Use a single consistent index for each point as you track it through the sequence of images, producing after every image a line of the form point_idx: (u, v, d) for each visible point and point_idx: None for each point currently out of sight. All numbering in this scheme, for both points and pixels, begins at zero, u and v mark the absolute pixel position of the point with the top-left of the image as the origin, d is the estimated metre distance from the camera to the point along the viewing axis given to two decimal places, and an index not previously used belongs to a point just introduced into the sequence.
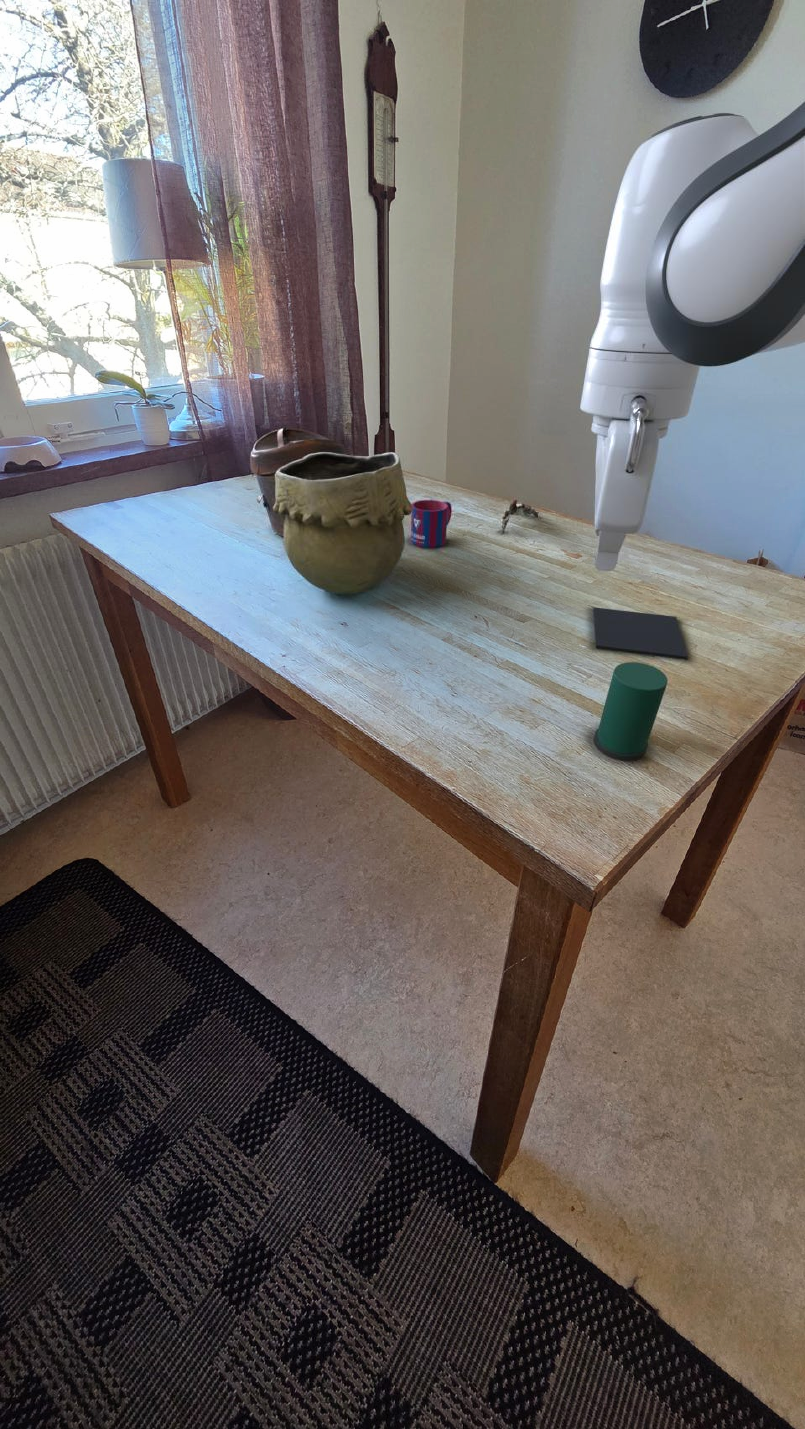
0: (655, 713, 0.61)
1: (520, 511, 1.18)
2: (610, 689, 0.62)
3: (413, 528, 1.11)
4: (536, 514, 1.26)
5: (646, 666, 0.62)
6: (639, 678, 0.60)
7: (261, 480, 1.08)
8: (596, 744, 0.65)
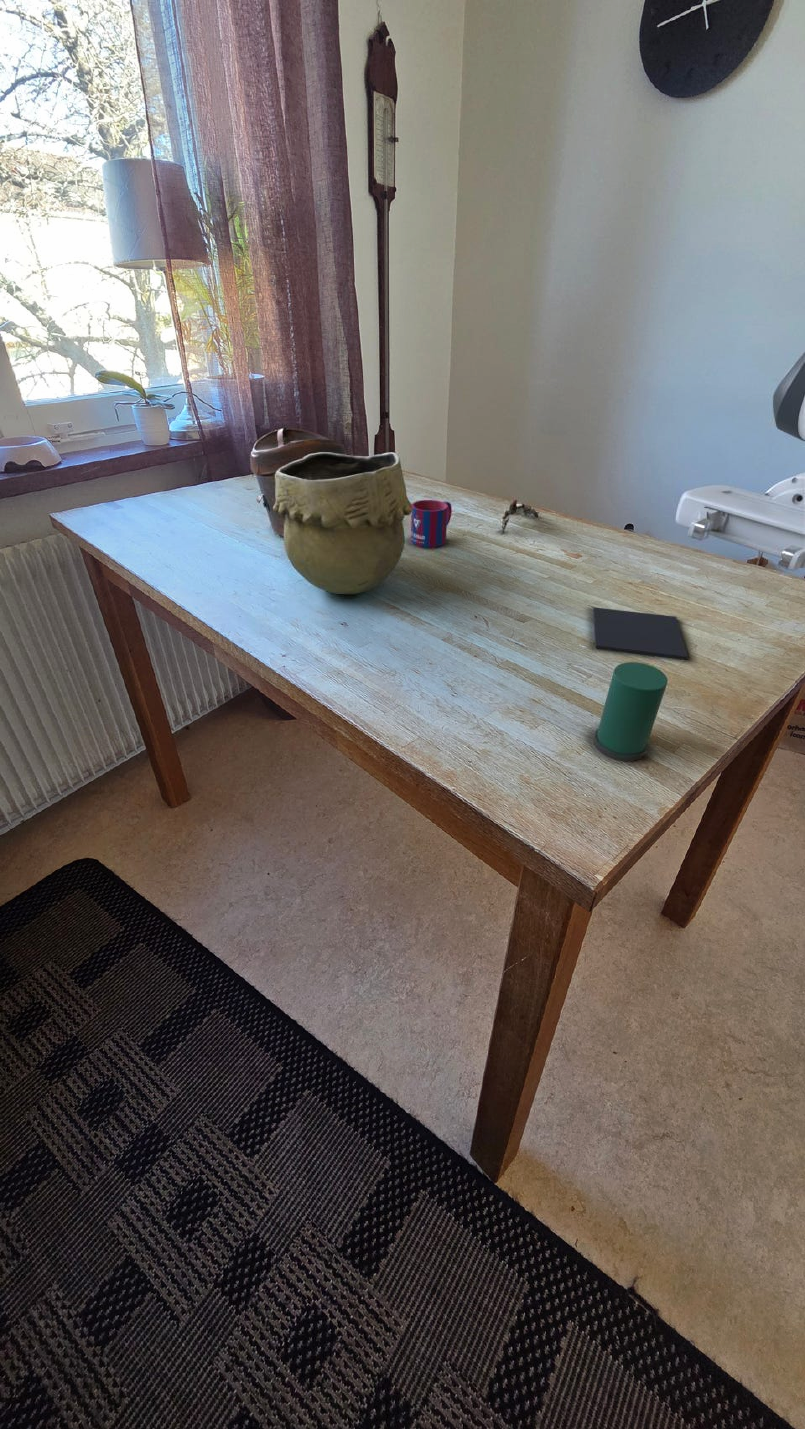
0: (655, 713, 0.61)
1: (520, 511, 1.18)
2: (610, 689, 0.62)
3: (413, 528, 1.11)
4: (536, 514, 1.26)
5: (646, 666, 0.62)
6: (639, 678, 0.60)
7: (261, 480, 1.08)
8: (596, 744, 0.65)
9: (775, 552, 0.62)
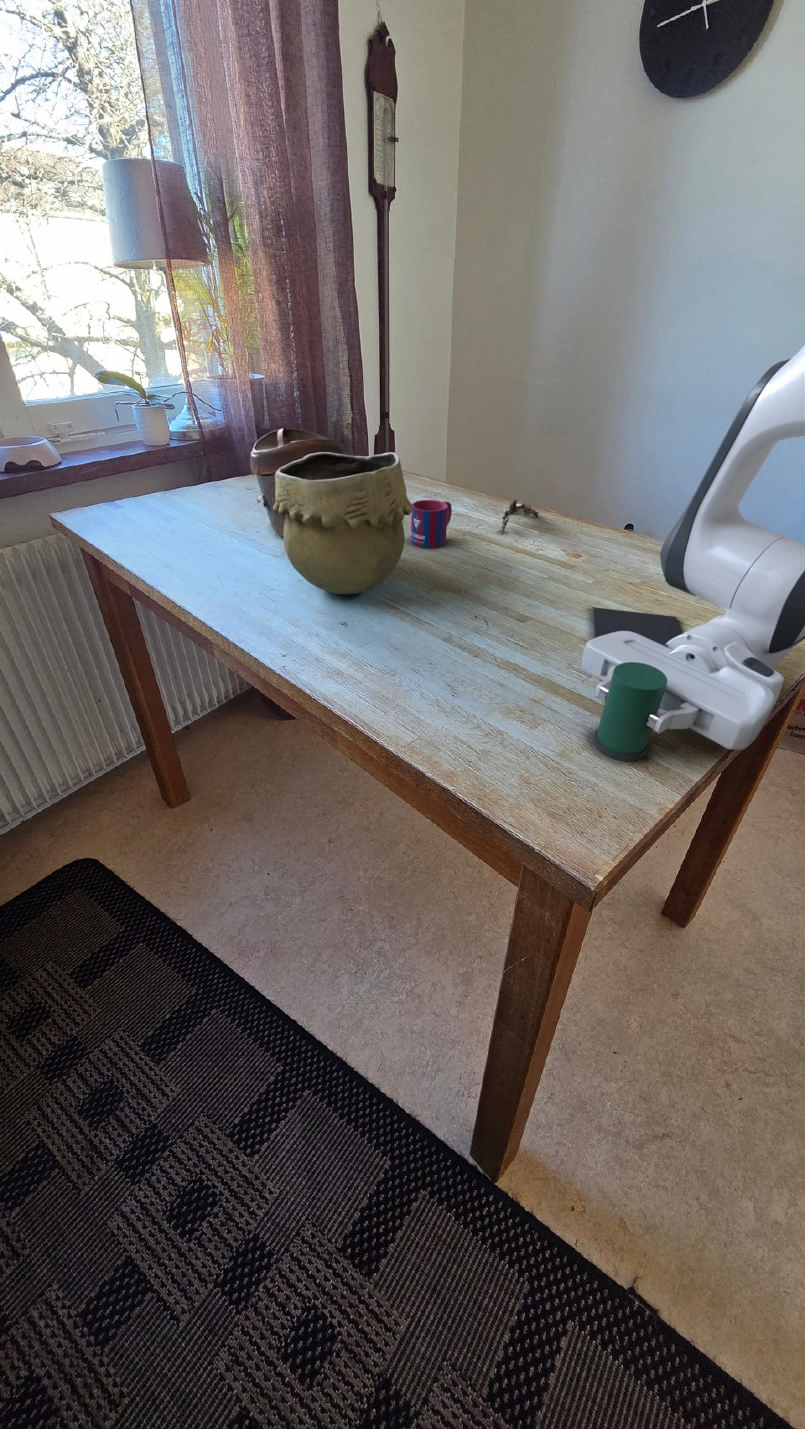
0: None
1: (520, 511, 1.18)
2: (610, 689, 0.62)
3: (413, 528, 1.11)
4: (536, 514, 1.26)
5: (645, 666, 0.62)
6: (638, 678, 0.60)
7: (261, 480, 1.08)
8: (596, 744, 0.65)
9: None
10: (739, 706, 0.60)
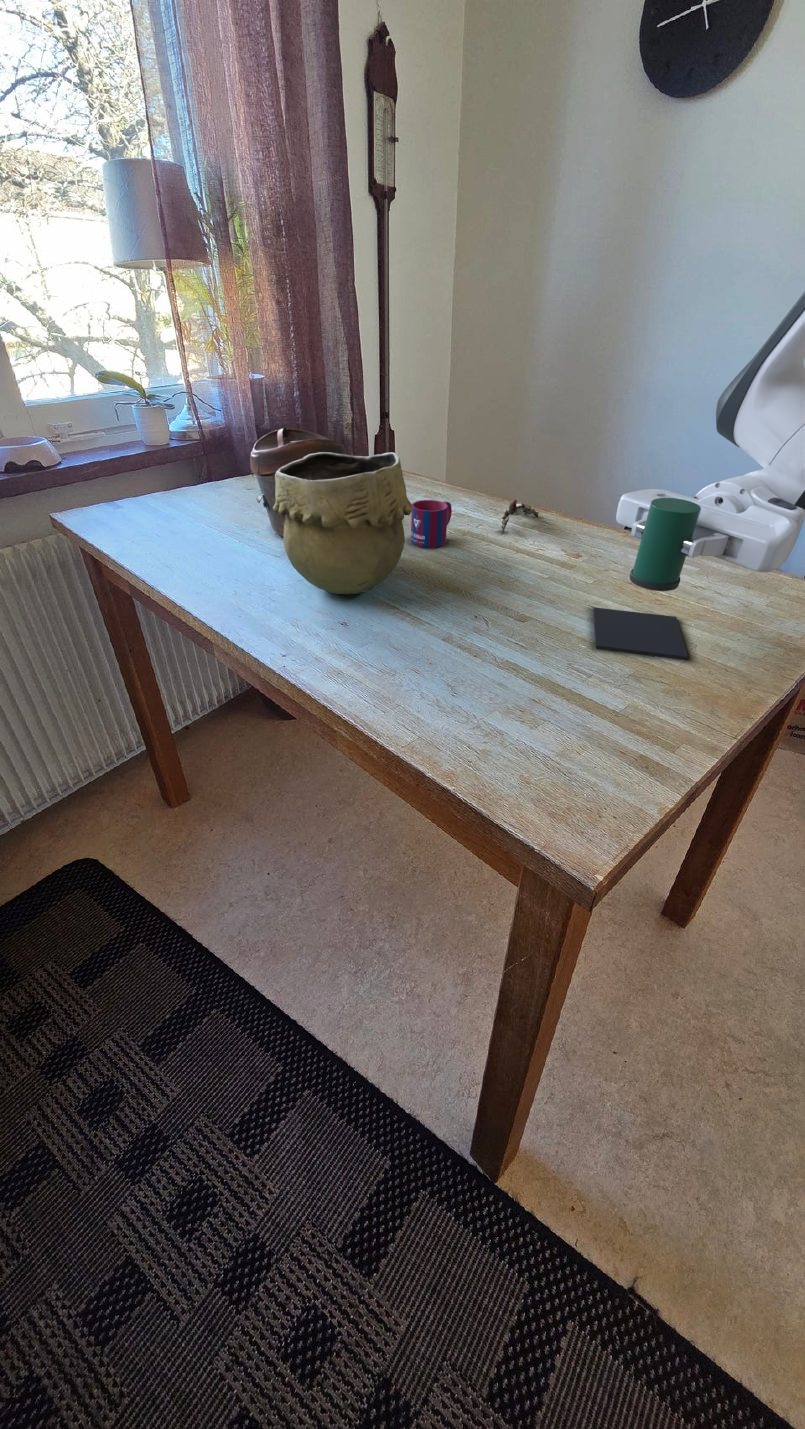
0: None
1: (520, 511, 1.18)
2: (647, 520, 0.67)
3: (413, 528, 1.11)
4: (536, 514, 1.26)
5: (680, 500, 0.68)
6: (674, 506, 0.66)
7: (261, 480, 1.08)
8: (632, 579, 0.71)
9: None
10: (766, 532, 0.66)
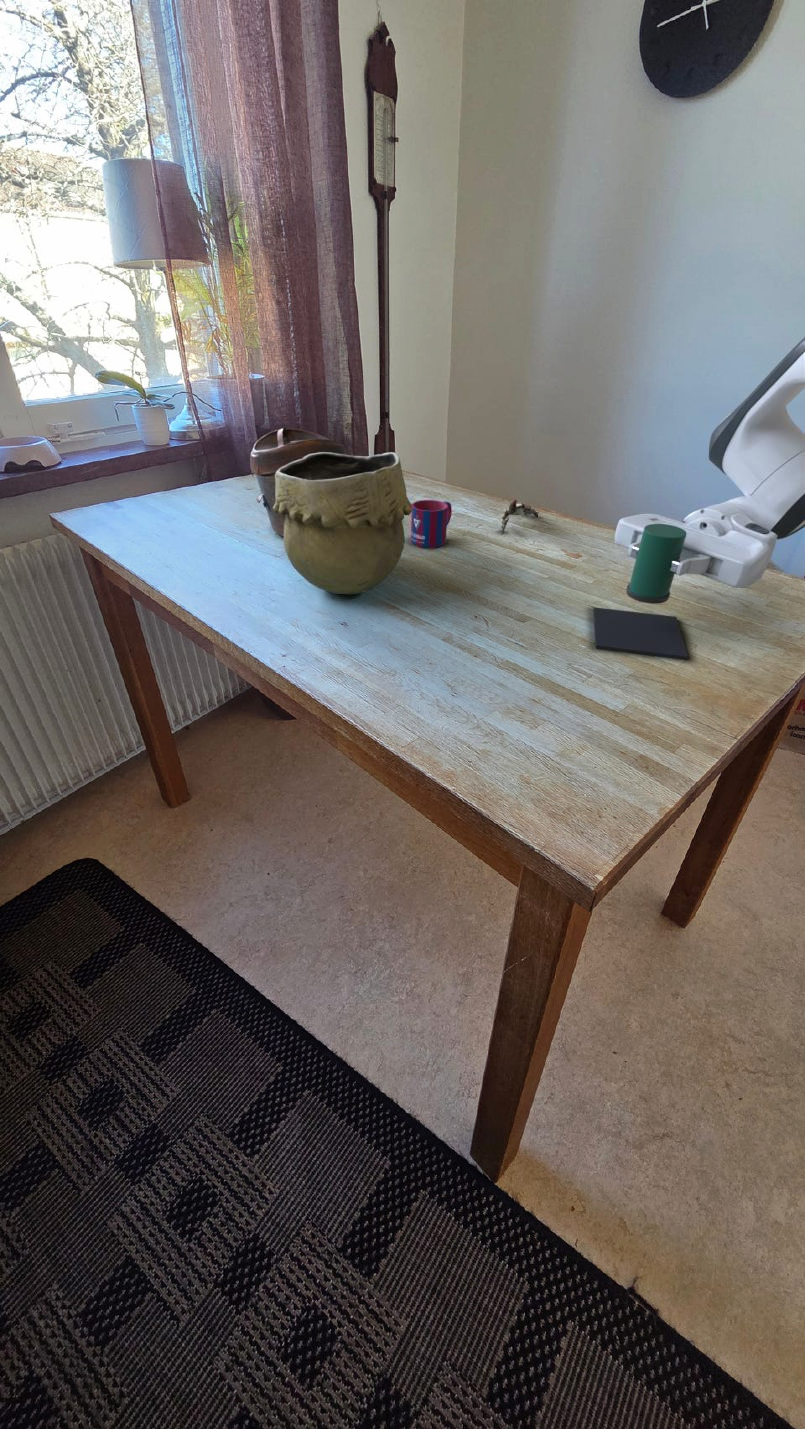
0: None
1: (520, 511, 1.18)
2: (641, 543, 0.79)
3: (413, 528, 1.11)
4: (536, 514, 1.26)
5: (669, 526, 0.79)
6: (664, 532, 0.77)
7: (261, 480, 1.08)
8: (629, 593, 0.82)
9: None
10: (742, 553, 0.77)
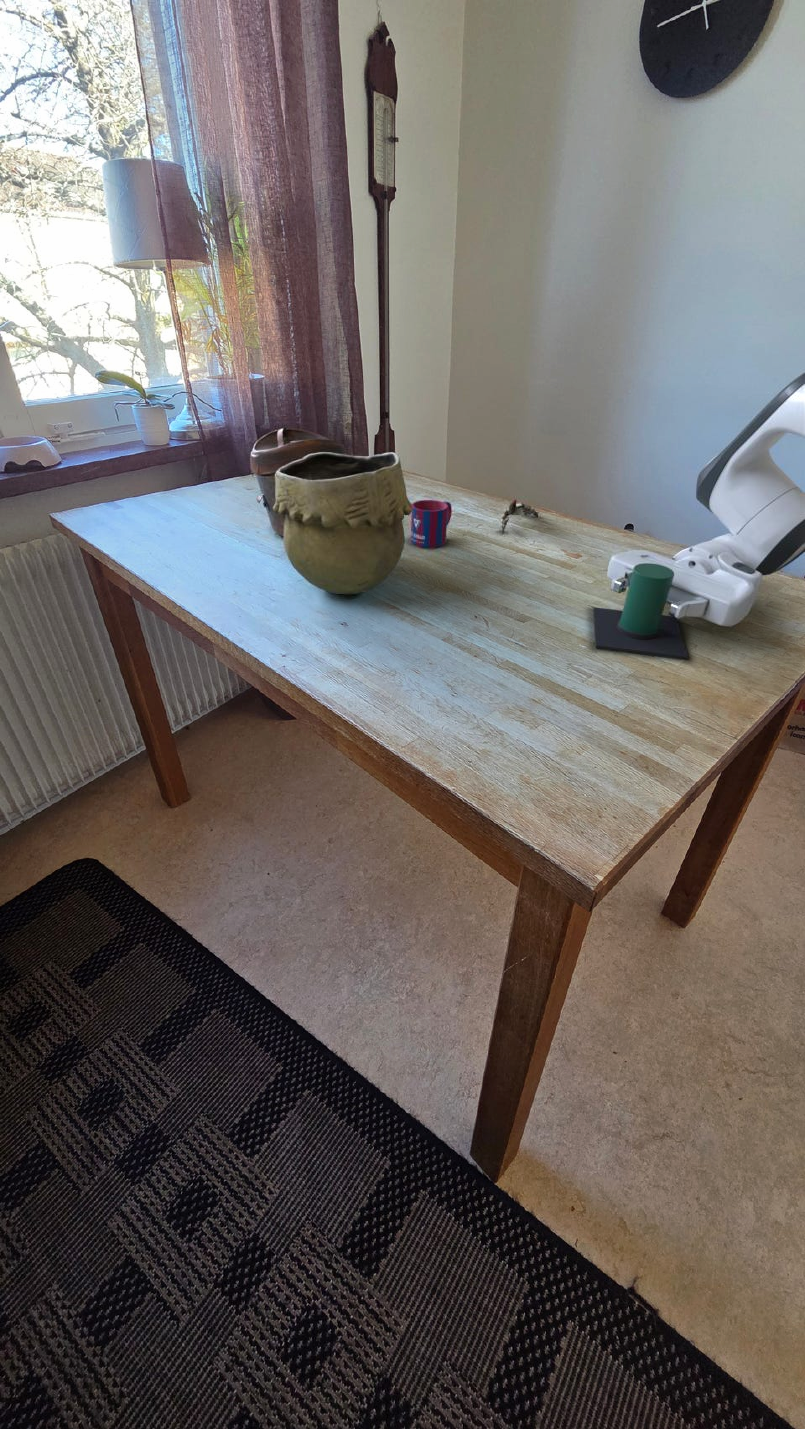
0: (665, 599, 0.81)
1: (520, 511, 1.18)
2: (631, 582, 0.82)
3: (413, 528, 1.11)
4: (536, 514, 1.26)
5: (657, 565, 0.82)
6: (653, 572, 0.80)
7: (261, 480, 1.08)
8: (619, 629, 0.86)
9: (672, 603, 0.84)
10: (728, 593, 0.80)
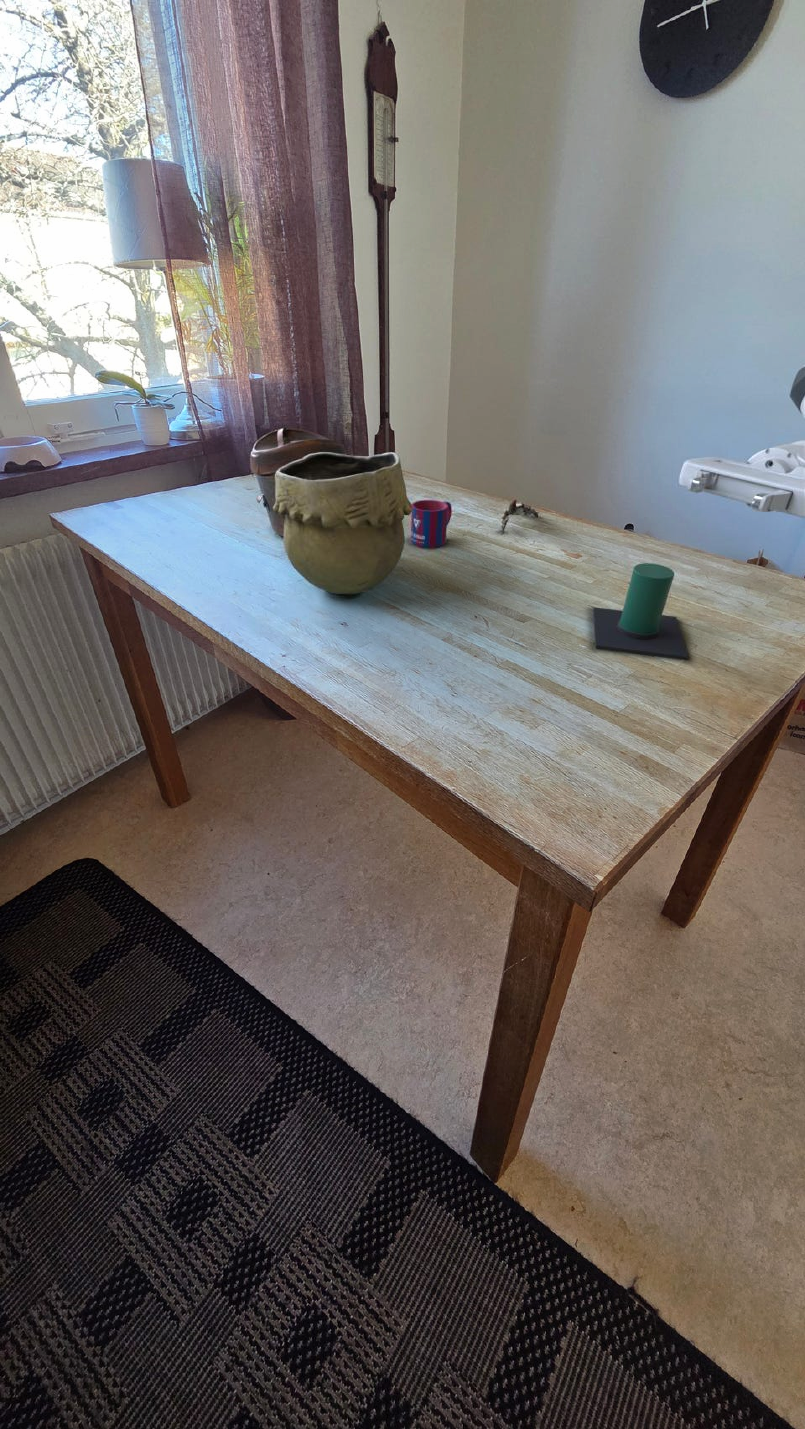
0: (665, 599, 0.81)
1: (520, 511, 1.18)
2: (631, 582, 0.82)
3: (413, 528, 1.11)
4: (536, 514, 1.26)
5: (657, 565, 0.82)
6: (653, 572, 0.80)
7: (261, 480, 1.08)
8: (619, 629, 0.86)
9: (751, 501, 0.84)
10: None
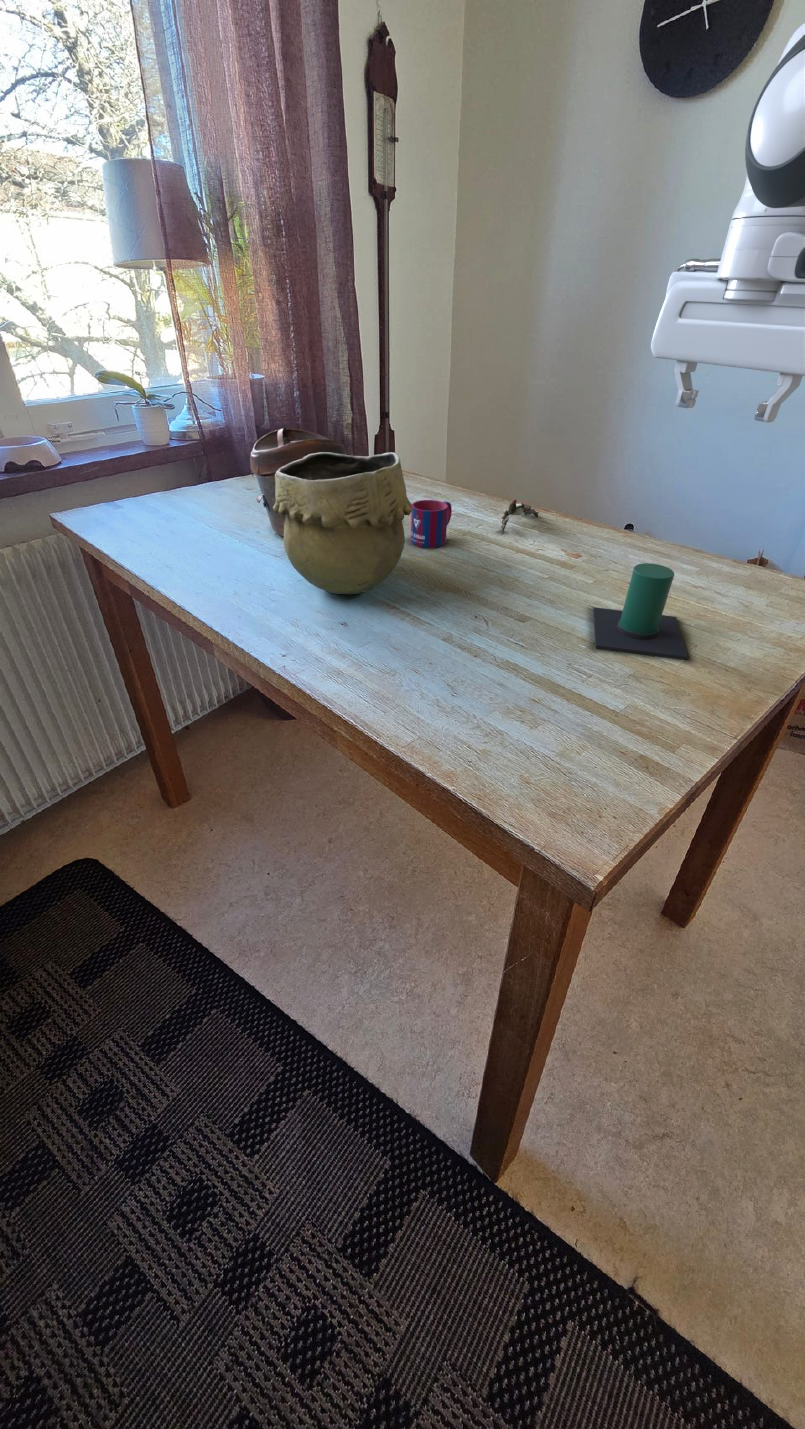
0: (665, 599, 0.81)
1: (520, 511, 1.18)
2: (631, 582, 0.82)
3: (413, 528, 1.11)
4: (536, 514, 1.26)
5: (657, 565, 0.82)
6: (653, 572, 0.80)
7: (261, 480, 1.08)
8: (619, 629, 0.86)
9: None
10: None
